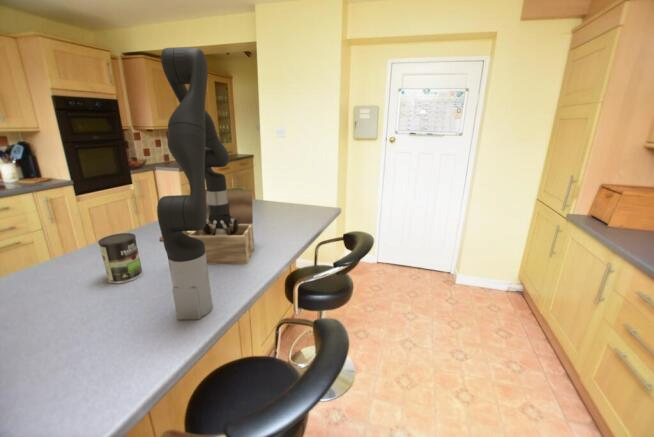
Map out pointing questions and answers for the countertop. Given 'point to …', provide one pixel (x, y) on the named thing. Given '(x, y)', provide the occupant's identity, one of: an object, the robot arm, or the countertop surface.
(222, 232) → the pill bottle
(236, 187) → the plant pot
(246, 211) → the lid
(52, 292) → the countertop surface
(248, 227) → the wooden box
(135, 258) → the coffee can
